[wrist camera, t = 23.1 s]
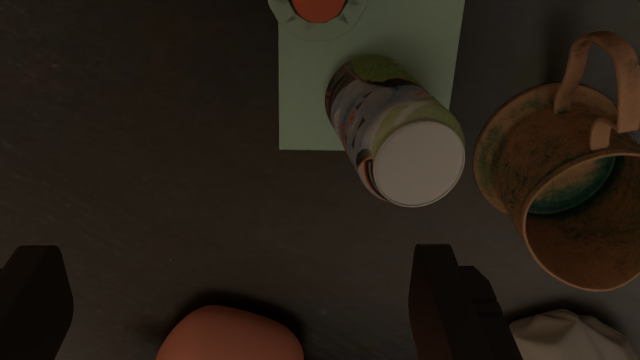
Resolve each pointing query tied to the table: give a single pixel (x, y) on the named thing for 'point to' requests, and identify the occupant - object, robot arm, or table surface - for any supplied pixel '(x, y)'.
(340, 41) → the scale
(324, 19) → the button
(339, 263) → the table surface
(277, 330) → the teapot
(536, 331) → the vase
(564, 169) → the mug
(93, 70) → the table surface
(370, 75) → the beverage can
